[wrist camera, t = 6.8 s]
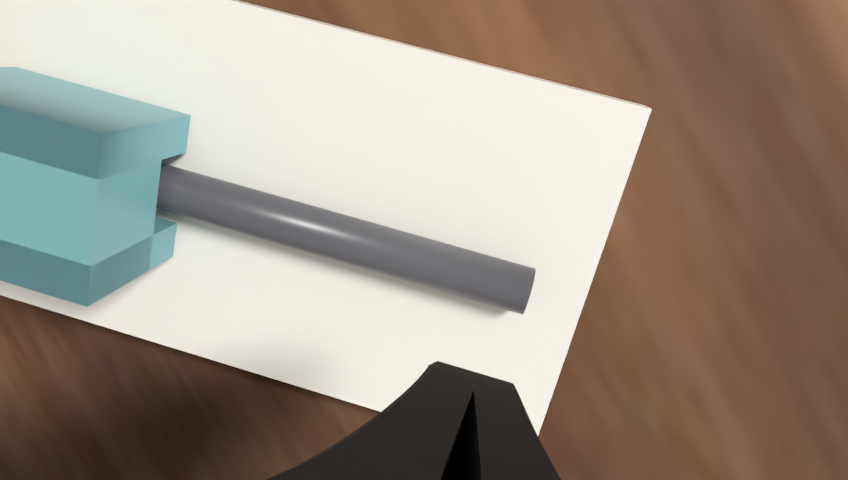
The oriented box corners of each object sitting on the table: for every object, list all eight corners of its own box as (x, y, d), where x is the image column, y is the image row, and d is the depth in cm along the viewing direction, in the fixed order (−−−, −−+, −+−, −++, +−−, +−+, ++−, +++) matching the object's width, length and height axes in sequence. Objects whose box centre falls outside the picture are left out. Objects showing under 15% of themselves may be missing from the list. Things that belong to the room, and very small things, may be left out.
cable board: (530, 437, 20) (529, 532, 16) (-186, 219, 22) (-340, 257, 18) (644, 105, 16) (677, 123, 13) (-206, -115, 18) (-398, -155, 15)
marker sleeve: (173, 256, 18) (87, 306, 15) (9, 208, 19) (-113, 246, 15) (191, 115, 17) (101, 133, 14) (14, 66, 17) (-117, 72, 14)
